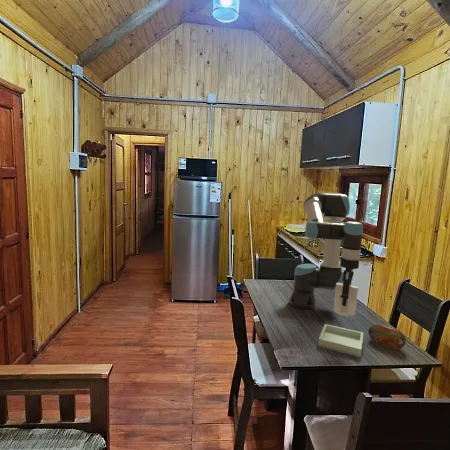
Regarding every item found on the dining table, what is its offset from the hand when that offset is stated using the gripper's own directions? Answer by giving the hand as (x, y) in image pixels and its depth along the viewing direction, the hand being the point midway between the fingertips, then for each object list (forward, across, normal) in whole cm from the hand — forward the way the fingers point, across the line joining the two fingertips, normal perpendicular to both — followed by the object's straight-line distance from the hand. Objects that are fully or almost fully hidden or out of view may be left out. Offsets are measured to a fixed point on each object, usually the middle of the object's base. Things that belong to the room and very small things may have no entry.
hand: (344, 308), depth 141 cm
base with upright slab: (+2, 0, 0) cm, 2 cm away
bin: (+16, 0, 0) cm, 16 cm away
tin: (+16, -9, +18) cm, 26 cm away
